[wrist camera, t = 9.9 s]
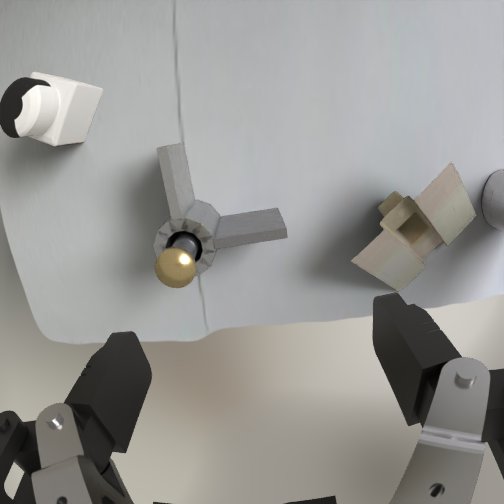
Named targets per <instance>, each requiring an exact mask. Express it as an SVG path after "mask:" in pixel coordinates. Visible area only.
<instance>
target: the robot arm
mask: <svg viewBox="0 0 504 504" xmlns="http://www.w3.org/2000/svg"><path fill="white" fill-rule="evenodd" d="M482 209H483V214H484V217H485V219H486V221H487V222H488V223H489V224H490V225H491V226H493V227H494V228H496V229H498V230H500V231H502V232H504V170H498V171H496V172H495V173H493V174H492V175H491V177H490V178H489V179H488V181H487V183H486V185H485V188H484V192H483V198H482ZM373 345H374V349H375V353H376V355H377V357H378V359H379V361H380V363H381V366H382V368H383V370H384V372H385V374H386V376H387V379H388V381H389V383H390V385H391V387H392V390H393V392H394V394H395V396H396V398H397V401H398V403H399V406H400V408H401V410H402V412H403V415H404V417H405V420H406V422H407V424H408V426H411V425H414V424H417V423H421V426H422V428H423V430H422V432H421V435H420V437H419V440H418V442H417V445H416V447H415V450H414V452H413V454H412V457H411V459H410V461H409V464H408V466H407V469H406V470H405V473H404V475H403V477H402V479H401V481H400V484H399V485H398V487H397V489H396V491H395V493H394V495H393V497H392V499H391V501H390V503H389V504H470V502H471V499H472V496H473V493H474V490H475V486H476V483H477V480H478V476H479V472H480V468H481V464H482V460H483V456H484V451H485V442H488V444H489V446H490V448H491V451H492V453H493V455H494V457H495V460H496V462H497V464H498V467H499V469H500V471H501V474H502V476H503V479H504V369H497V370H488V369H487V367H486V366H485V365H484V364H483V363H481V362H480V361H478V360H475V359H473V358H466V357H462V356H461V355H460V354H459V352H458V351H457V350H456V348H455V347H454V346H453V344H452V343H451V342H450V340H449V339H448V338H447V337H446V335H445V334H444V333H443V331H441V330H440V328H439V326H438V325H437V324H436V323H435V322H434V320H433V319H432V318H431V316H430V315H429V314H428V313H427V311H425V310H424V309H422V308H420V307H418V306H417V305H415V304H411V305H407V304H406V303H405V301H404V300H403V299H402V298H401V296H400V295H399V294H398V293H391V294H386V295H382V296H377V297H375V298H374V302H373ZM151 379H152V372H151V368H150V364H149V362H148V360H147V358H146V356H145V354H144V352H143V349H142V347H141V345H140V342H139V340H138V338H137V336H136V334H135V333H134V332H132V331H129V332H117V333H112V334H111V335H110V337H109V338H108V340H107V342H106V343H105V345H104V346H103V347H102V348H101V349H99V350H98V351H97V352H96V353H95V354H94V355H93V356H92V357H91V359H90V360H89V362H88V363H87V365H86V368H84V370H83V371H82V373H81V376H79V378H78V380H77V381H76V383H75V385H74V386H73V388H72V390H71V391H70V393H69V395H68V397H67V398H66V400H65V402H64V403H56V404H53V405H51V406H48V407H47V408H45V409H44V410H43V411H42V412H41V413H40V414H39V416H38V418H37V420H36V421H29V422H22V421H21V419H20V418H19V417H18V415H17V414H16V413H15V412H13V411H4V412H2V413H0V504H134V503H133V501H132V500H131V497H130V495H129V494H128V491H127V489H126V487H125V486H124V483H123V481H122V479H121V477H120V475H119V473H118V470H117V468H116V466H115V464H114V462H113V460H112V459H111V458H110V456H111V454H112V452H119V453H126V451H127V448H128V446H129V442H130V440H131V437H132V434H133V431H134V428H135V425H136V422H137V419H138V417H139V414H140V410H141V408H142V405H143V403H144V400H145V397H146V394H147V391H148V389H149V386H150V383H151ZM13 462H15V463H16V464H17V465H18V466H19V467H20V468H21V469H22V470H23V471H24V475H23V477H22V479H21V482H20V484H19V487H18V489H17V492H16V494H15V496H14V499H13V500H12V499H11V498H10V497H9V496H8V495H7V494H6V492H5V489H4V482H5V480H6V477H7V475H8V473H9V471H10V469H11V466H12V464H13ZM153 504H169V503H158V502H153ZM285 504H337V503H336V498H335V496H330V497H324V498H319V499H312V500H305V501H297V502H289V503H285Z"/></svg>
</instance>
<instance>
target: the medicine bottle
mask: <svg viewBox="0 0 504 504" xmlns="http://www.w3.org/2000/svg"><path fill="white" fill-rule="evenodd" d="M102 93H103V89H102V88H100V87H96V86H93V85H89V84H86V83H82V82H79V81H75V80H71V79H67V78H64V77H59V76H54V75H49V74H44V73H38V72H33V73H32V74H31V76H30V78H27V77H24V78H20V79H17V80H16V81H14V82H13V83H12V84H11V85H10V86H9V87H8V88H7V90H6V91H5V93H4V95H3V97H2V99H1V102H0V125H1V127H2V129H3V131H4V132H5V133H6V134H7V135H8V136H10V137H13V138H19V137H27V136H28V137H31V138H34V139H36V140H39V141H41V142H44V143H47V144H49V145H52V146H62V145H69V144H76V143H83V142H84V141H85V140H86V136H87V133H88V130H89V128H90V125H91V122H92V119H93V116H94V113H95V111H96V108H97V105H98V103H99V100H100V98H101V95H102Z"/></svg>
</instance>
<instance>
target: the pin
mask: <svg viewBox="0 0 504 504" xmlns="http://www.w3.org/2000/svg"><path fill="white" fill-rule="evenodd" d="M200 243H201V241H200V240H199V239H198V238H197V236H196V235H195V234H193V233H190V232H188V231H185V230H184V231H181V232H180V234H179V236H178V237H177V239H176V240H175V242H174V244H173V245H172V247H170V248H167V249H165V250H164V251H163V252H162V253H161V254H160V255H159V257H158V258H157V260H156V263H155V272H156V275H157V277H158V278H159V280H160V281H161V282H162V283H164V284H165V285H167V286H169V287H172V288H181V287H185V286H187V285H188V284H189V283H190V282H191V281H192V280H193V278H194V275H195V272H196V262H195V259H194V258H195V256H196V253H197V251H198V248H199V246H200Z"/></svg>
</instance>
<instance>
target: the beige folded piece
mask: <svg viewBox="0 0 504 504" xmlns="http://www.w3.org/2000/svg"><path fill="white" fill-rule="evenodd" d="M453 165H454V164H453V163H450V164H449V165H448V166H447V167H446V168H445V169H444V170H443V171H442V172H441V173H440V174H439V175H438V177H437V178H436V179H434V181H432V183H431V184H430V185H429V186H428V187H427V188H426V189H425V190H424V191H423V192H422V193H421V195H420V196H418V197H417V198H416V199H415V200H413V199H412V198H410V196H406V197H405V199H404V198H403V197H402V196H401V195H400V194H399V193H398V192H397V191H394V192H393V193H392V194H391V195H390V196H389V197H388V198H386V199H385V200H384V202H383V203H382V204H381V205H380V206H379V207H378V209H379V211H380V212H381V213H382V215H383V216H384V218H383V220H382V221H381V222H380V225H381V226H382V227H383V229H384V230H383V231H382V232H381V234H379V236H377V237H376V238H375V239H374V240H373V241H372V242H370V244H369V245H368V246H367V247H365V248H364V249H363V251H361V252H360V253H359V255H357V256H356V257H354V258H353V259H352V260H351V262H353V263H354V264H357V265H358V267H360V268H361V269H363V270H365V271H367V272H368V273H370V274H371V275H372V274H373V276H375V277H376V278H378V279H380V280H381V281H383V282H384V283H385V284H387V285H389V286H391V287H392V288H394V289H396V291H400V290H401V289H403V288H404V287H405V286H406V285H407V284H409V283H410V282H411V281H412V280H413V279H414V278H415V277H416V276H417V275H418V274H419V273H420V272H421V271H423V270H424V269H425V267H426V265H424V263H423V262H422V260H423V259H424V258H425V257H426V256H427V255H428V254H429V253H430V252H431V251H432V250H434V249H435V247H437V246H438V245H439V244H440V243H441V242H444V243H445V244H446V246H448V245H450V244H451V243H452V241H453V240H454V239H455V238H456V237H457V236H458V235H459V234H460V233H461V232H462V230H464V228H465V227H467V226H468V224H470V222H471V221H473V219H474V217H476V213H475V211H474V209H473V206H472V204H471V202H470V199H469V197H468V193H467V191H466V189H465V187H464V185H463V182H462V180H461V179H460V176H459V175H458V174H459V173H458V172H457V170H456V169H455V167H454V166H453Z"/></svg>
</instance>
